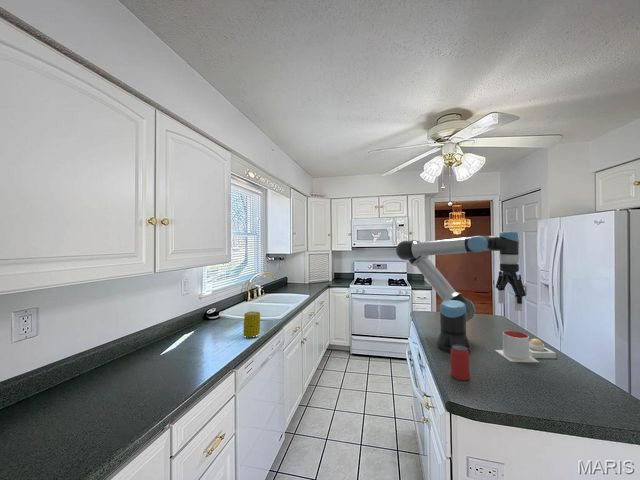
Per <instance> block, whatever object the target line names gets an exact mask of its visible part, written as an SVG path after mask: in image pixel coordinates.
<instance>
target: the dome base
mask: <svg viewBox="0 0 640 480" xmlns="http://www.w3.org/2000/svg"><path fill="white" fill-rule="evenodd" d="M529 356H531V357H532V358H534V359H557V354H556V352H555V351H553V350H551V349H549V348H547V347H545V346H544V351H532V350H531V349H529Z"/></svg>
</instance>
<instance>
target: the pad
mask: <svg viewBox="0 0 640 480" xmlns="http://www.w3.org/2000/svg"><path fill="white" fill-rule="evenodd" d="M494 351H495V352H496V353H497V354H498V355H500V356H501V357H503V358H504V359H506V360H508V362H510V363H540V361H538V360H537V358H532V357H531V356H529V357H528V358H527V359H516V358H512V357H509V356H507V355H506V354H505V353H504V352H503V349H495V350H494Z"/></svg>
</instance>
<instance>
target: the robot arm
mask: <svg viewBox="0 0 640 480" xmlns="http://www.w3.org/2000/svg"><path fill="white" fill-rule="evenodd" d="M519 244H520V240H519V232H518V231H500V232H499V234H498V235H473V236H468V237H466V236H465V237H458V238H450V239H441V240H440V239H438V240H431V241H429V240H428V241H419V240H413V239H412V240H402V241H401V242H399V243H398V244H397V245H396V248H395V253H396V255H397V257H398V258H400V260H402V261H409V264H411V266H415V267H416V268H417V269H418V270H419V272H420V273H421V275H423V278H425V280H426V281H427V282H428V283H429V285H430V286H431V287H432V288H433V290H434V292H436V294H438V296H439V297H440V298H441V300H442V302H441V303H440V307H439V315H440V316H439V317H440V319H439V320H440V322H439V323H440V324H439V325H440V333H439V335H438V338H437V342H436V343H437V344H436V346H437V349H439V350H440V351H442V352H444V353H448V354H451V349H452V346H453V345H462V346H465V347H467V350H468V352H469V354H470V353H471V349H472V348H471V344H470V342H469V339H468V336H467V323H468V321H471V319H473V317H474V316H475V313H476V307H475V305H474V304H473V302H472V301H471V300H469V299H468V298H466V297H464V295H463V294H462V292H457V291H456V290H455V289H454V288H453V287H452V285H451V284H450V283H449V281H448V280H447V279H446V278H445V276H444V275H443V274H442V273H441V271H440V270H439V269H438V267H436V266H435V264H434V263H433V262H432V260H431V259H430V258H429V256H437V255H438V256H439V255H452V254H467V253H481V252H485V251H488V252H489V251H494V252H495V251H496V252H499V270H500V271H498V277H497V280H496V284H495V289H497V290H498V304H506V287H507V285H508V284H509V285H511V287H512V290H513V293H514V311H516V312H517V311H519V312H522V311H523V297H526V296H527V293H526V290H525V288H524V285H523V284H524V283H523V281H522V276H521V274H517V273H518V272H519V271H520V264H519V262H520V261H519V260H520V256H519V255H520V253H519V251H520V246H519Z"/></svg>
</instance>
